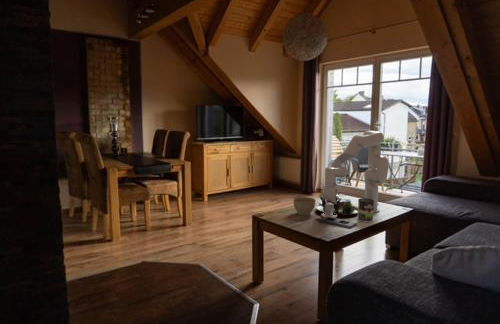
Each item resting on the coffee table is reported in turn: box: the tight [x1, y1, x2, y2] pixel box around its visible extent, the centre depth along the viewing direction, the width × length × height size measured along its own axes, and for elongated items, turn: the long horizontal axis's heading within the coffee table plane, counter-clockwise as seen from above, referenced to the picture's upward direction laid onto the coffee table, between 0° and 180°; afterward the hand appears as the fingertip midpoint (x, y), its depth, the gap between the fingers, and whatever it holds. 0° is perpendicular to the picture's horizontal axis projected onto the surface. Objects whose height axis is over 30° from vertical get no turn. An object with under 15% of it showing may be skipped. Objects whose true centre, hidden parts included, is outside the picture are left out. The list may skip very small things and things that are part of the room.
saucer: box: [320, 212, 338, 218], centre depth 260 cm, size 11×11×1 cm
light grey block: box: [324, 202, 335, 216], centre depth 259 cm, size 4×4×8 cm
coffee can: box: [357, 198, 374, 223], centre depth 250 cm, size 10×10×14 cm
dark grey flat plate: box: [320, 216, 358, 229], centre depth 244 cm, size 9×22×2 cm, turn 47°
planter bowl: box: [292, 196, 316, 217], centre depth 264 cm, size 16×16×11 cm
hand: (329, 207), depth 259 cm, fingers open, 9 cm apart
